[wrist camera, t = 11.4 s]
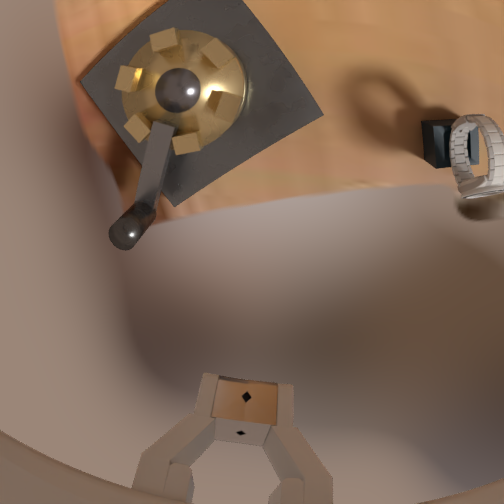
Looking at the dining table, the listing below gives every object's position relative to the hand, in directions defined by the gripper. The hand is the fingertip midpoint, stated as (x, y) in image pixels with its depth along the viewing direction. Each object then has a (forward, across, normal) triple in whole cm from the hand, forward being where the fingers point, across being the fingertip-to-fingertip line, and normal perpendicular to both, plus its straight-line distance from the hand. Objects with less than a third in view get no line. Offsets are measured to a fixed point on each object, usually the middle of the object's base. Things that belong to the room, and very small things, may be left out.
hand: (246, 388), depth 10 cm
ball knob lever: (+24, +10, -3) cm, 26 cm away
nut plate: (+26, +9, -7) cm, 28 cm away
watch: (+26, -18, -7) cm, 32 cm away
